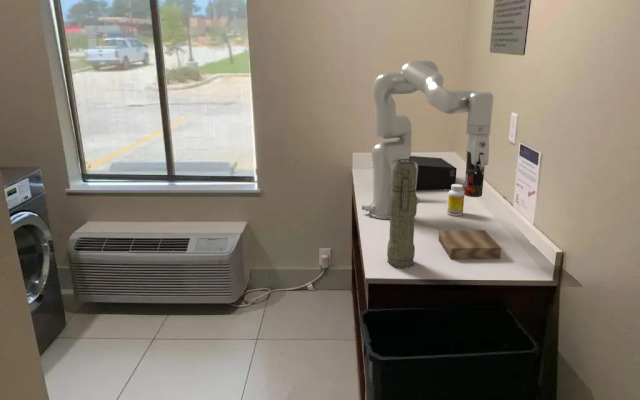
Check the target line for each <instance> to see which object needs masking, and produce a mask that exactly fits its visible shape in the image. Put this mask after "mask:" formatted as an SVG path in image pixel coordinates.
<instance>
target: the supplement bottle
mask: <svg viewBox="0 0 640 400" xmlns="http://www.w3.org/2000/svg"><path fill="white" fill-rule="evenodd" d="M463 187H464V186H463V184H461V183H460V184H459V183H456V184H452V185H451V189H449V191H448V192H447V195H448V197H447V206H446V207H447V208H446V210H447V211H446V213H447V214H448V215H449V216H454V217H459V216H460V217H461V216H462V215H463V213H464V207H465V206H464V202H465V195H464V191H463Z"/></svg>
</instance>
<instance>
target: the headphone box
mask: <svg viewBox="0 0 640 400" xmlns="http://www.w3.org/2000/svg"><path fill="white" fill-rule="evenodd" d="M409 160H412V161H414V162H416V163H417V165H418V172H417V184H416V192H417V191H418V192H419V191H440V190H441V191H444V189H447V191H448V189H449V190H452V189H451V185H452V184H457V182H456V181H457V170H458V169H457V167H455V166H454V165H453V164H451V163H450V162H448V161H447V160H445V159H443V158H441V157H431V156H416V155H410V158H409Z"/></svg>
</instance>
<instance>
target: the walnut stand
mask: <svg viewBox="0 0 640 400" xmlns="http://www.w3.org/2000/svg"><path fill="white" fill-rule="evenodd" d="M438 242H439V243H440V245H441V247H442V248H443V250H444V252H445V253H446V254H447V256H448V257H449V259H450V260H477V259H478V260H480V259H481V260H486V259H487V260H488V259H489V260H491V259H496V260H497V259H498V260H500V259H501V255H502V247H501V245H499V244H498V242H497V241H496V240H495V239H494V238H493V237H492V236H491V235H490V234H489V232H488V231H486V229H476V230H475V229H467V230H466V229H461V230H460V229H459V230H458V229H452V230H450V229H447V230H446V229H445V230H439V231H438Z"/></svg>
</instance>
